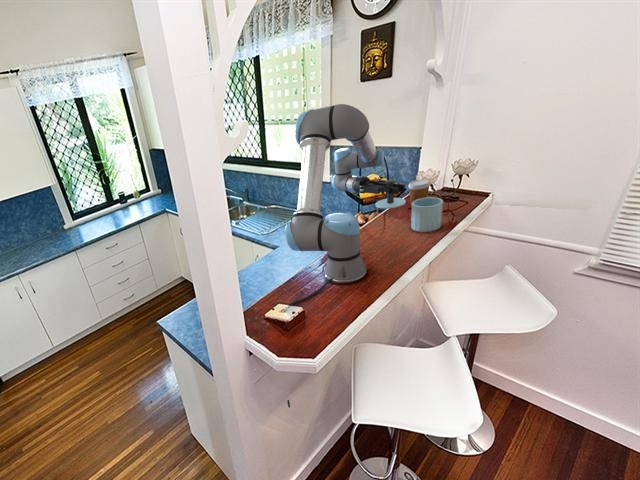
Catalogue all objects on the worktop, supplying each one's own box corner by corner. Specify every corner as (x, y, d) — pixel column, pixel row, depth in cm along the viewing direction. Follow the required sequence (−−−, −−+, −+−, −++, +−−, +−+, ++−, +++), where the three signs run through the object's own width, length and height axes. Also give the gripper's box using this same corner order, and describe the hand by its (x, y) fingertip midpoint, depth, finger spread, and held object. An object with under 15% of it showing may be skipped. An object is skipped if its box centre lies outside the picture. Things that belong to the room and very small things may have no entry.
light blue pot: (429, 234, 145) (430, 208, 139) (405, 229, 154) (406, 204, 149) (446, 225, 149) (449, 199, 143) (422, 220, 158) (424, 196, 152)
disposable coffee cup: (424, 201, 176) (426, 178, 170) (431, 207, 168) (433, 182, 162) (405, 205, 178) (405, 181, 172) (411, 211, 170) (411, 186, 164)
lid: (392, 211, 146) (392, 186, 141) (369, 207, 156) (368, 183, 151) (411, 202, 150) (412, 177, 145) (388, 198, 160) (388, 175, 155)
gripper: (371, 187, 168) (413, 192, 149) (346, 197, 163) (387, 204, 144) (370, 171, 164) (414, 174, 146) (345, 181, 159) (387, 186, 140)
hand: (401, 189), depth 145 cm, fingers closed on lid, 3 cm apart
